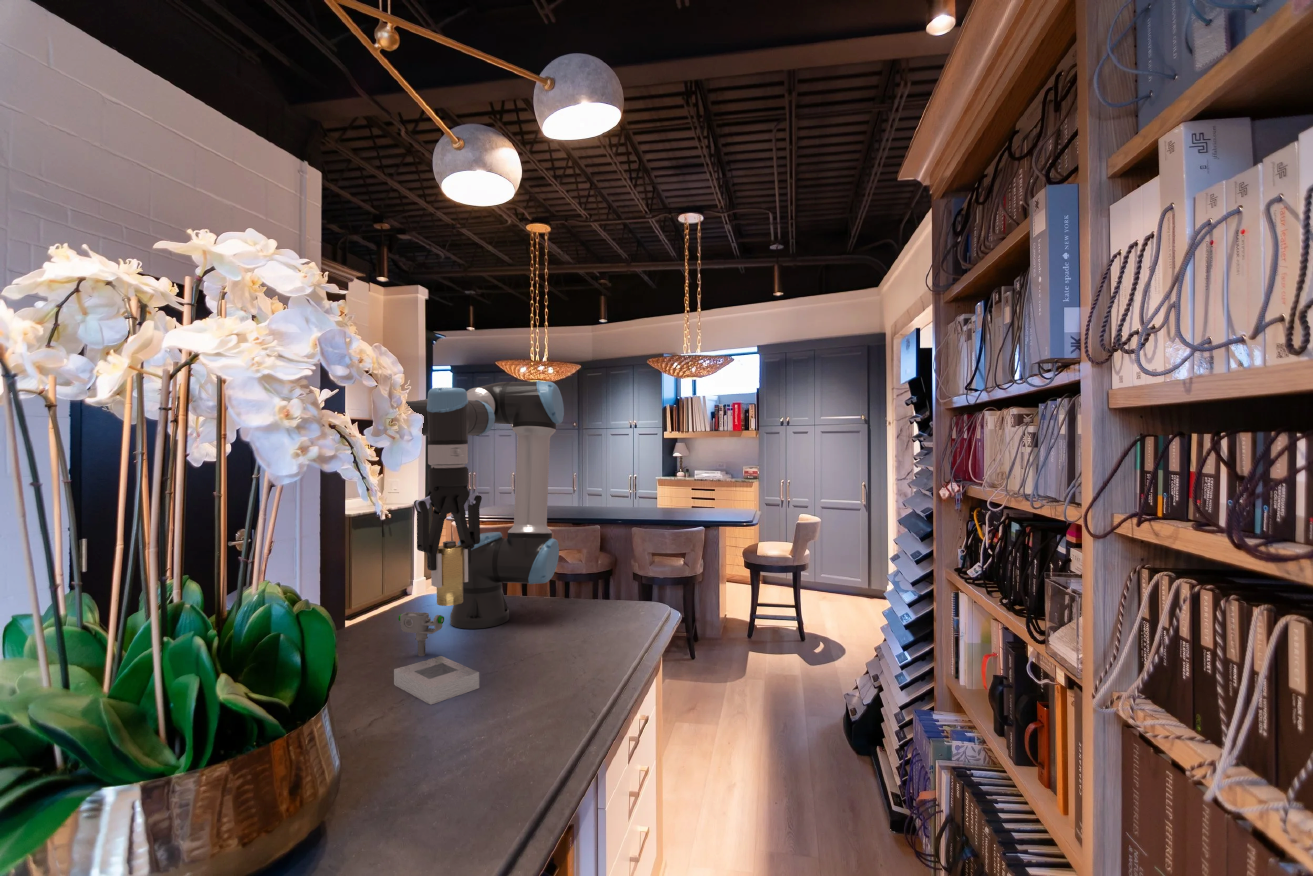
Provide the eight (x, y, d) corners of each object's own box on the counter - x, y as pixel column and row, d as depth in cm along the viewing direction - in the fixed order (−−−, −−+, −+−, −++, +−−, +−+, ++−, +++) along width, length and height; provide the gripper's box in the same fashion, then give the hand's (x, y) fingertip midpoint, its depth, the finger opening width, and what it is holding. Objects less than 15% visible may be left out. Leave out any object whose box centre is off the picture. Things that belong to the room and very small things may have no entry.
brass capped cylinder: (432, 602, 125) (431, 542, 125) (455, 597, 129) (454, 538, 129) (444, 607, 122) (444, 545, 121) (468, 602, 125) (467, 541, 125)
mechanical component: (439, 663, 137) (438, 617, 137) (396, 660, 140) (396, 615, 140) (446, 658, 140) (446, 613, 140) (404, 655, 142) (404, 611, 142)
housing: (394, 689, 123) (393, 669, 123) (441, 675, 130) (441, 655, 130) (430, 710, 114) (430, 688, 114) (479, 693, 121) (479, 672, 121)
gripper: (413, 469, 116) (415, 596, 116) (498, 464, 129) (499, 578, 129) (395, 467, 121) (396, 589, 121) (478, 463, 134) (479, 572, 134)
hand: (450, 583), depth 125 cm, fingers closed on brass capped cylinder, 5 cm apart
